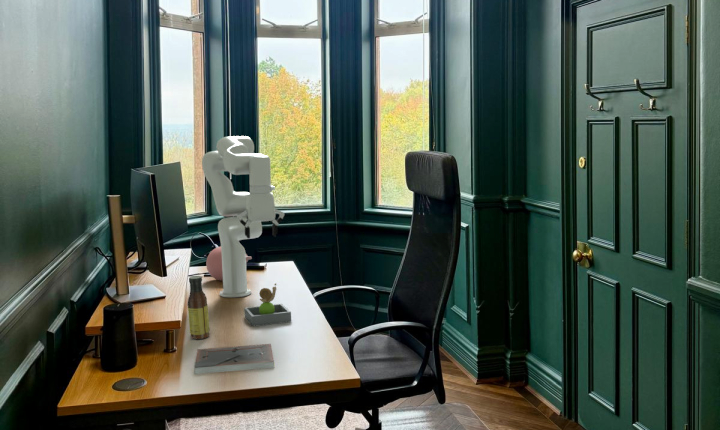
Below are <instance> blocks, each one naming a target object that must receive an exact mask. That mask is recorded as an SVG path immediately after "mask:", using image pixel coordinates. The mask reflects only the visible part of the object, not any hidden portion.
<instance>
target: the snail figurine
mask: <svg viewBox="0 0 720 430" xmlns="http://www.w3.org/2000/svg"><path fill="white" fill-rule="evenodd" d="M276 286H277V283H274V286H273V287H272V289H269V288H268V287H263V288H261V289H260V290H259V296H260V298H259V300H260V302H262V303H261V304H260V305H259V306H260V307H259V312H260V314H261V315H264V314H272V313H274V311H275V307H274V304H273V303H272V301H273V300H274V299H275V297H276V294H277V293H276V291H277V287H276Z"/></svg>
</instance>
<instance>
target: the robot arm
mask: <svg viewBox="0 0 720 430" xmlns="http://www.w3.org/2000/svg"><path fill="white" fill-rule="evenodd" d="M201 165H202V170H203V174H204V176H205V178H206V180H207V183H208V184H209V186H210V187H211V191H212V196H213V199H214V203H215V207H216V211H217V213H218V214H219V216H221V217H224V218H222V219H221V220H219V221H218V224H217V230H218V236H219V241H220V247H221V252H222V272H223V281H222V288H223V289H222V290H220V291H219V296H220V297H223V298H242V297H247V296H249V295H251V294H252V290H251V289H250V288H248V277H247V276H248V275H247V262H246V254H247V253H246V250H245V249H246V248H245V247H244V246H243V245H242V244H241V243H240V241H242V240H250V239H252V240H253V239H256V238H259V237H260V236H261V235H262V233H263V224H262V222H269V221H270V222H272V227H271V228H272V229H271V230H272V236H273V237H277V235H278V233H279V232H278V229H279V228H278V227H279V226H278V225H279V224H280V223H281V222H283V221H282V220H283V219H284V217H285V212H284V211H281V210H279V209H276V206H275V204H276V203H275V199H274V194H273V192H272V191H274V190H276V187H275V186H273V185H272V183H271V182H272V181H271V179H272V178H271V176H272V175H271V174H272V173H271V158H270V156H269V155H265V154H263V153H259V152H258V153H255V144H254V141H253V139H251V137H249V136H246V135H245V136H244V135H241V136H239V135H236V136H235V135H233V136H230V135H229V136H224V137H221V138H220V139H218V141H217V143H216V150H212V151H208V152H206V153H205V154H204V155H203V156H202V161H201ZM223 172H227V173H229V174H231V175H235V176H240V175H249V192H248V191H235V190H234V186H233V182H232V181H231V179H229V177H227V176H226V175H225V174H223ZM276 214H278V217H277V218H276Z"/></svg>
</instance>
